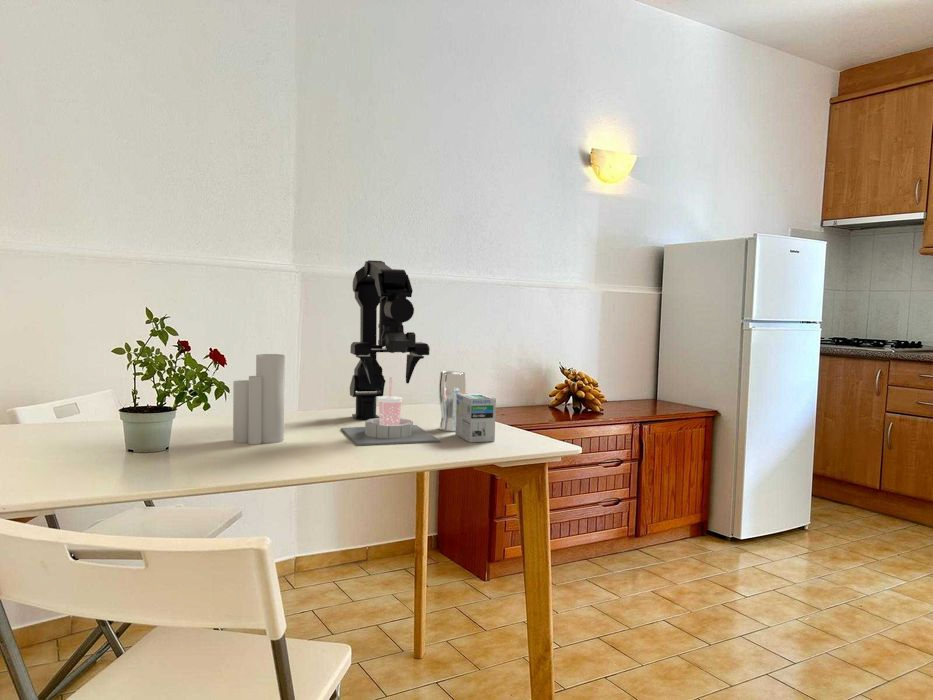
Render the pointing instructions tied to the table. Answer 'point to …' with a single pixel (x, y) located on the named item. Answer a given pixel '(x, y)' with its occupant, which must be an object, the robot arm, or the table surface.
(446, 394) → the beer glass
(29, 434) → the table surface
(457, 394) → the light bulb box
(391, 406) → the beverage cup
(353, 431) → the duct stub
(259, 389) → the vase
